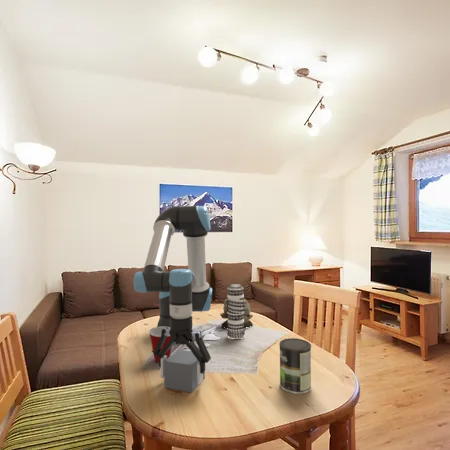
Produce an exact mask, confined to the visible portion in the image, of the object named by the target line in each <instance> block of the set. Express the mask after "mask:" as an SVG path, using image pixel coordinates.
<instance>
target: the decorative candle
mask: <svg viewBox="0 0 450 450" xmlns="http://www.w3.org/2000/svg"><path fill="white" fill-rule="evenodd" d="M226 289H227V294H226V295H227V297H225V298H226V300H227V301H226V303H227V304H228V305H227V313H228V319H227V320H228V322H227V324H228V325H227V327H228V329H226V331H227V333H226V334H227V336H229V337H230V338H234V339H241V338H243V339H245V338H244V337H245V335H246V333H245V331H246V328H245V329H244V327H245V326H244V324H245V322H244V315H243V314H244V313H245V312H244V311H245V309H243V307H245V305H243V304H244V303H245V302H244V301H243V300H244V299H245V300H246V298H245V296H244V295H245V293H244V287H243V286H242V285H241V284H239V283H232V284H229V285H228V287H227V288H226ZM241 340H242V339H241Z"/></svg>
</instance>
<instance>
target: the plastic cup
mask: <svg viewBox="0 0 450 450" xmlns="http://www.w3.org/2000/svg"><path fill="white" fill-rule="evenodd" d="M164 328H166V327H164V326H161V327H157V326H155V327H151V328H149V330H148V334H149V337H150V342H151V347H152V353H154V351H155V348H156V346H157V344H158V342H159V339H160V337H161V332H162V329H164ZM167 328H168V329H170V327H167ZM171 338H172V337H171V336H170V334H168V335H167V338H166V340H165V342H164V344H163V347H162V349H161V351H162V350H163V349H164V347H165V346H166V345H167V344H168V342H169V341H170V339H171ZM172 346H173V345H172ZM172 346H171V347H170V349H169V350H168V351H167V352H166V353H165V355H166V356H167V358H169V357H170V356H171V352H172ZM165 355H164V356H165ZM153 358H154V361H155V362H156V363H158V364H159V357H158V356H157V355H154V354H153Z"/></svg>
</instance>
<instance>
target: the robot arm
mask: <svg viewBox="0 0 450 450" xmlns="http://www.w3.org/2000/svg"><path fill="white" fill-rule="evenodd" d="M152 228H153V236H152V239H151V242H150V245H149V249H148V253H147V256H146V259H145V264H144V266H143V270H140V271H136V272H135V273H134V276H133V289H134V291H135V292H137V293H146V294H147V293H159V295H158V300H159V301H158V302H159V304H158V305H159V319H158V322H157V325H156V327H161V326H164V327H166V328H164V329H162V332H161V337H160V339H159V342H158V344H157V346H156V348H155V351H154V353H153V352H152V353H153V356H154V355H157V356H158V357H159V363H158V366H159V367H160V378H161V379H164V361H165V360H166V359H167V356H166V355H165V353H166V352H167V351H168V350H169V349H170V347H171V346H173V345H174V344H175V345H183V346H186V347H187V348H188V349H189V351H192V353H193V354H194V356H195V357H196V359H197V360H198V361H199V363H198V364H197V382H198V384H199V385H201V384H202V382H203V381H204V380H203V373H204V372H205V373H206V364H208V363H209V362H210V361H211V359H212V357H211V355H210V353H209V350H208V349H207V347H206V346H207V345H206V344H205V342H204V340H203V335H202V331H201V330H197V331H193V316H192V315H193V313H194V312H200V313H203V312H209V311H210V310H211V305H212V297H213V288H212V287H210V284H209V282H207V269H206V268H207V267H206V266H207V265H206V242H205V241H206V237H207V236H208V234H209V233H208V232H210V231H211V219H210V211H209V209H208V207H207V206H205V205H204V206H203V205H201V206H200V205H183V206H182V205H177V206H176V205H175V206H171V207H169V208H166V209H165V210H163V211H162V212H161V213H160V214H159V215H158V216H157V218H156V219H155V221H154V223H153V227H152ZM175 232H182V235H183V236H184V238H186V252H187V255H186V256H187V268H176V269H171V270H169V271H165V265H166V261H167V257H168V253H169V248H170V244H171V239H172V236H173V235H174V234H175ZM167 327H170V329H168V328H167ZM168 334H170V336H171V337H172V338H171V339H170V341H169V342H168V344H167V345H166V346H165V347H164V349H163V350H162V351H161V349H162V347H163V344H164V342H165V340H166V338H167V335H168ZM195 342H196V343H195ZM164 355H165V356H164Z"/></svg>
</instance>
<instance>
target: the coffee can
mask: <svg viewBox="0 0 450 450" xmlns="http://www.w3.org/2000/svg"><path fill="white" fill-rule="evenodd" d="M278 344H279V386H280V388H281V389H282V390H283V391H285V392H287V393H290V394H293V395H304V394H307V393H309V392H310V391H311V390H312V372H311V371H312V365H311V363H312V354H311V353H312V352H311V349H312V344H311V342H309V341H307V340H305V339H303V338H302V339H301V338H293V337H292V338H291V337H290V338H284V339H282V340H280V341H279V343H278Z"/></svg>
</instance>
